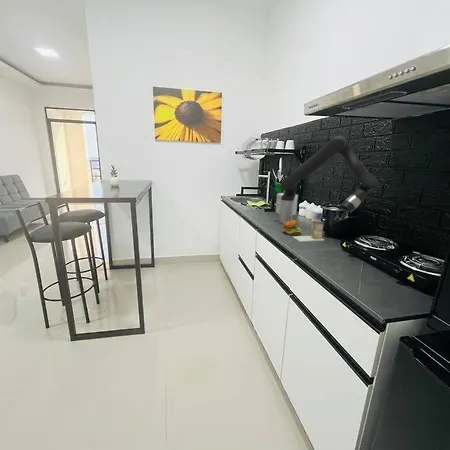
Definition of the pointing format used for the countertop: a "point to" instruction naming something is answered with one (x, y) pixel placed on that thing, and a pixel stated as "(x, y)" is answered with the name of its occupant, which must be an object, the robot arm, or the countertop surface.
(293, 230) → the cheeseburger
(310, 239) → the sage board
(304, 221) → the countertop surface
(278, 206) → the supplement box
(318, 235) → the beech block
